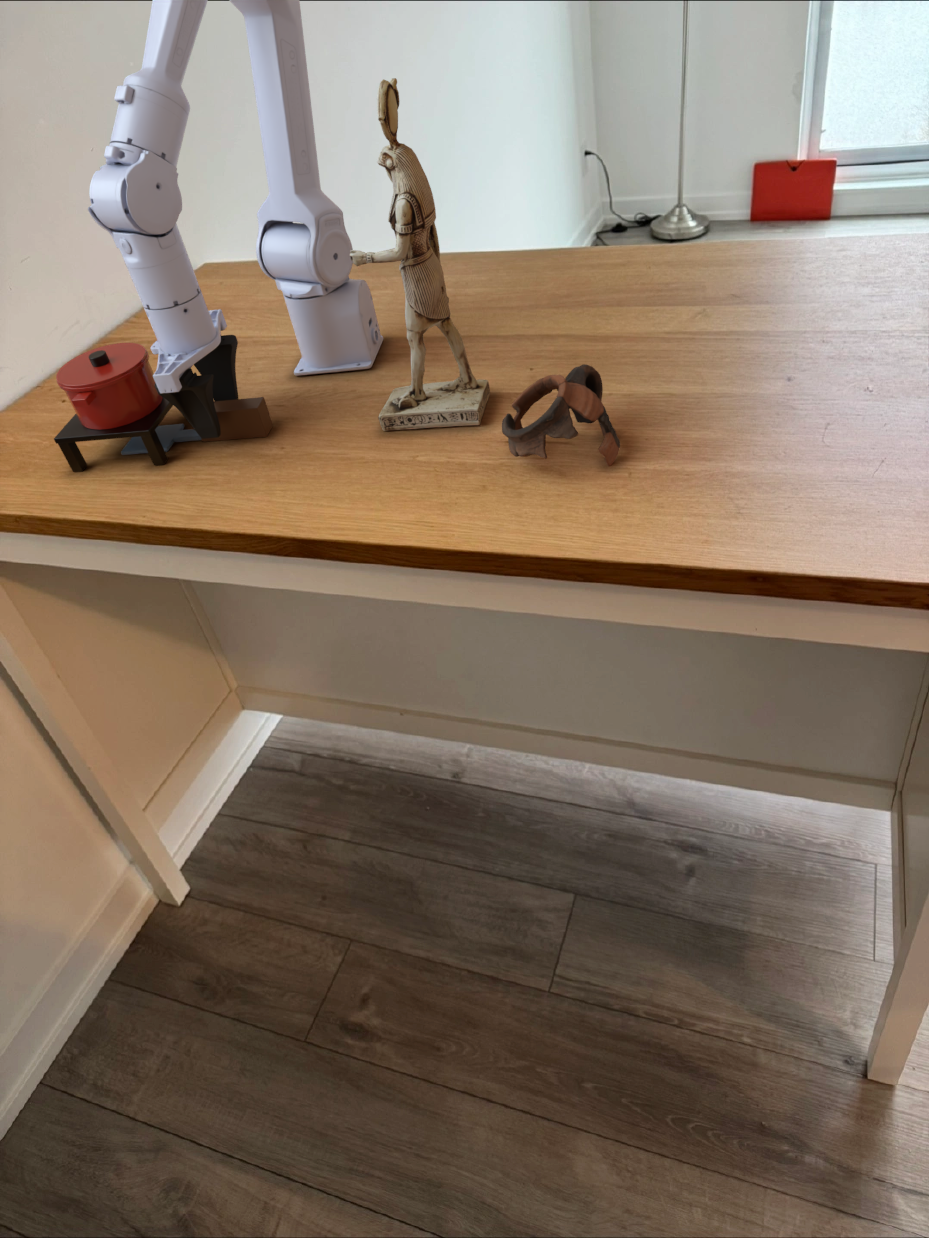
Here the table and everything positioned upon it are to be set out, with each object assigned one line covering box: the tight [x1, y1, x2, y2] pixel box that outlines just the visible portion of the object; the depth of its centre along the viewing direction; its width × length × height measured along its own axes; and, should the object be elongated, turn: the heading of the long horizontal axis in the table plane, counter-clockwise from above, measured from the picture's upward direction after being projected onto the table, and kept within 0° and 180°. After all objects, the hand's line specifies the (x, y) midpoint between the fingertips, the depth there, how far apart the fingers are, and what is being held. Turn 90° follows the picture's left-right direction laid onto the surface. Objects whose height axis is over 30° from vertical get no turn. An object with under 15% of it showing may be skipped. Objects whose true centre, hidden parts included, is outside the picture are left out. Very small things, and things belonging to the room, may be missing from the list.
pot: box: [53, 342, 174, 473], centre depth 93 cm, size 11×12×10 cm
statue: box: [350, 77, 491, 432], centre depth 81 cm, size 7×10×30 cm
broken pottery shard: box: [501, 363, 621, 467], centre depth 80 cm, size 12×9×8 cm
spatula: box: [120, 396, 274, 456], centre depth 94 cm, size 16×5×3 cm, turn 83°
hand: (220, 421), depth 94 cm, fingers open, 5 cm apart
